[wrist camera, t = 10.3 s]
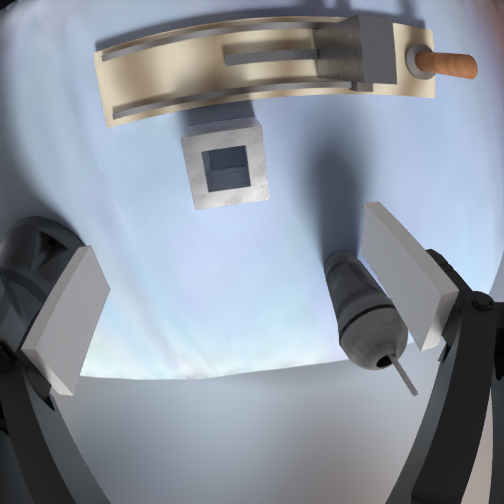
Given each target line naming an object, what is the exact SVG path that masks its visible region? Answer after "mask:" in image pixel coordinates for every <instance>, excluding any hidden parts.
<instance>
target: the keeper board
mask: <svg viewBox="0 0 504 504" xmlns="http://www.w3.org/2000/svg"><path fill="white" fill-rule="evenodd" d="M345 19H347V18H343V17H322V16H285V17H264V18H251V19H240V20H231V21H223V22H216V23H209V24H203V25H197V26H191V27H186V28H181V29H176V30H171V31H167V32H163V33H158V34H154V35H150V36H147V37H143V38H139V39H135V40H132V41H129V42H125V43H122V44H119V45H116V46H112V47H109V48H106V49H104V50H101V51H98V52H95V53H94V60H95V66H96V72H97V78H98V83H99V89H100V94H101V99H102V104H103V109H104V114H105V118H106V123H107V127H108V128H110V127H114V126H117V125H121V124H125V123H128V122H132V121H136V120H140V119H144V118H149V117H153V116H157V115H162V114H167V113H171V112H176V111H181V110H187V109H192V108H198V107H203V106H209V105H216V104H222V103H229V102H237V101H245V100H253V99H263V98H273V97H285V96H300V95H322V94H381V95H401V96H415V97H427V98H435V74H436V73H437V74H444V75H451V76H456V77H462V78H467V79H473V78H475V77H476V75H477V71H478V68H477V63H476V61H475V60H474V58H473V57H472V56H470V55H465V54H453V53H435V52H434V45H433V33H432V30H429V29H424V28H419V27H414V26H409V25H403V24H397V23H393V30H394V41H395V54H396V70H397V85H395V84H377V83H361V82H353V81H345V80H336V79H327V78H318V75H317V64H316V59H315V60H289V61H273V62H260V63H250V64H241V65H233V66H226V65H225V58H224V56H226V55H233V54H242V53H251V52H262V51H276V50H297V49H315V44H314V35H313V32H314V31H317V30H319V29H322V28H324V27H326V26H329V25H332V24H334V23H337V22H339V21H342V20H345Z"/></svg>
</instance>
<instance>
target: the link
mask: <svg viewBox="0 0 504 504" xmlns="http://www.w3.org/2000/svg"><path fill="white" fill-rule="evenodd" d="M181 142H182V148H183V153H184V158H185V163H186V168H187V173H188V178H189V183H190V188H191V193H192V197H193V202H194V207H195V210H199V209H205V208H212V207H219V206H225V205H232V204H239V203H247V202H254V201H261V200H269V190H268V180H267V171H266V161H265V152H264V142H263V133H262V126H261V124H260V123H259V121H258V120H257V118H256V117H255V116H252V117H244V118H236V119H229V120H222V121H215V122H209V123H203V124H197V125H192V126H189V127H188V128H187V130H186V131H185V133H184V134H183V136H182V137H181ZM243 145H244V149H245V156H246V164H247V166H241V167H234V168H227V169H220V170H213V171H211V166H210V160H209V154H208V151H209V150H215V149H222V148H228V147H235V146H243Z"/></svg>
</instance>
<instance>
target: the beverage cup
mask: <svg viewBox="0 0 504 504" xmlns="http://www.w3.org/2000/svg"><path fill="white" fill-rule="evenodd" d="M324 273H325V277H326V282H327V286H328V289H329V293H330V297H331V300H332V304H333V308H334V311H335V315H336V319H337V322H338V332H339V345H340V346H341V348H342V349H343V350H344V352H345V353H346V355H347V356H348V358H349V359H350V360H351V361H352V362H353V363H354V364H356V365H357V366H360V367H362V368H364V369H368V370H379V369H384V368H386V367H388V366H390V365H392V364H394V366H395V368H396V369H397V371H398V372H399V374H400V375H401V377H402V379H403V380H404V382H405V384H406V385H407V387H408V388H409V390H410V392H411V393H412V395H413V396H416V395H417V394H418V392H417V390H416V389H415V387H414V386H413V384H412V383H411V381H410V379H409V378H408V376H407V375H406V373H405V371H404V370H403V368H402V367H401V365H400V364H399V362H398V359H399V358H400V356H401V355H402V353H403V352H404V350H405V348H406V345H407V340H408V328H407V326H406V325H405V323H404V321H403V319H402V318H401V316H400V314H399V312H398V311H397V309H396V307H395V306H394V304H393V302H392V301H391V299H390V298H388V297H387V295H386V294H385V293H384V291H383V290H382V289H381V287H380V286H379V285H378V283H377V282H376V281H375V279H374V278H373V277H372V276H371V274H370V273H369V272H368V270H367V269H366V268H365V267H364V265H363V264H362V263H361V262H360V261H359V260H358V259H357V258H356V257H355V255H354V254H353V253H351V252H349V251H339V252H336V253H334V254H332V255H331V256H330V257H329V258H328V259H327V260H326V262H325V264H324Z"/></svg>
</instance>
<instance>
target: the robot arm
mask: <svg viewBox="0 0 504 504" xmlns="http://www.w3.org/2000/svg"><path fill="white" fill-rule="evenodd" d="M361 253H362V254H363V256H364V258H365V259H366V261H367V262H368V264H369V265H370V267H371V268H372V270H373V272H374V273H375V275H376V276H377V278H378V279H379V281H380V283H381V284H382V286H383V288H384V289H385V291H386V292H387V294H388V296H389V297H390V299H391V301H392V302H393V304H394V306H395V307H396V309H397V311H398V312H399V314H400V316H401V318H402V319H403V321H404V323H405V325H406V326H407V328H408V330H409V332H410V333H411V335H412V337H413V339H414V341H415V342H416V344H417V346H418V348H419V350H420V351H424V350H427V349H430V348H433V347H436V346H437V345H438V343H439V341H440V338H441V336H443V338H444V340H445V341H446V345H445V347H444V349H443V351H442V353H441V355H440V357H439V359H438V361H440V365H439V369H438V373H437V376H436V380H435V383H434V387H433V390H432V393H431V396H430V400H429V403H428V406H427V409H426V411H425V414H424V417H423V420H422V423H421V426H420V428H419V431H418V434H417V436H416V439H415V441H414V444H413V446H412V449H411V451H410V453H409V456H408V458H407V460H406V462H405V465H404V467H403V469H402V471H401V473H400V476H399V478H398V480H397V482H396V484H395V486H394V488H393V490H392V492H391V494H390V496H389V498H388V499H387V501H386V503H385V504H461V501H462V497H463V495H464V492H465V489H466V486H467V484H468V481H469V478H470V474H471V471H472V468H473V465H474V462H475V458H476V455H477V451H478V447H479V443H480V439H481V435H482V431H483V426H484V422H485V417H486V411H487V406H488V401H489V394H490V388H491V397H492V414H493V461H492V476H491V488H490V497H489V504H504V302H494V300H493V299H492V298H491V297H490V296H489V295H487V294H485V293H483V292H479V291H472V290H471V288H470V287H469V286H468V285H467V284H466V282H465V281H464V280H463V279H462V278H461V277H460V275H459V274H458V273H457V272H456V271H455V270H454V269H453V267H452V266H451V265H450V264H448V262H447V261H446V260H445V258H444V257H443V256H442V255H441V254H439V253H437V252H436V251H434V250H432V249H428V250H425V249H424V248H423V247H422V246H421V245H420V244H419V243H418V242H417V240H416V239H415V238H414V237H413V236H412V235H411V234H410V233H409V232H408V231H407V230H406V229H405V228H404V227H403V225H402V224H401V223H400V222H399V221H398V220H397V219H396V218H395V217H394V216H393V215H392V214H391V213H390V212H389V211H388V210H387V209H386V208H385V207H384V206H383V205H382V204H381V203H380V202H370V203H364V222H363V237H362V249H361ZM109 291H110V287H109V285H108V283H107V281H106V279H105V276H104V274H103V272H102V270H101V267H100V265H99V263H98V261H97V258H96V256H95V254H94V251H93V249H92V246H91V245H89V246H84V245H83V244H82V242H81V241H80V240H79V239H78V238H77V237H76V236H75V235H74V234H73V233H72V232H71V231H69V230H68V229H67V228H65V227H64V226H62V225H61V224H59V223H57V222H55V221H53V220H50V219H47V218H42V217H29V218H25V219H22V220H20V221H19V222H17V223H16V224H15V225H14V226H13V227H12V228H11V229H10V230H9V231H8V232H7V233H6V235H5V236H4V238H3V239H2V241H1V244H0V504H111V503H110V502H109V500H108V499H107V497H106V496H105V494H104V493H103V491H102V489H101V488H100V486H99V485H98V483H97V481H96V480H95V478H94V477H93V475H92V473H91V472H90V470H89V468H88V466H87V465H86V463H85V461H84V459H83V458H82V456H81V454H80V452H79V450H78V448H77V446H76V445H75V442H74V440H73V439H72V437H71V435H70V432H69V431H68V428H67V426H66V424H65V422H64V420H63V418H62V415H61V413H60V411H59V409H58V406H57V404H56V402H55V400H54V397H53V396H52V395H51V394H50V389H51V386H52V387H53V388H54V389H55V390H56V391H57V392H58V393H59V394H63V395H74V392H75V389H76V385H77V382H78V379H79V376H80V372H81V369H82V366H83V363H84V360H85V357H86V354H87V351H88V348H89V345H90V342H91V339H92V336H93V333H94V331H95V328H96V325H97V322H98V320H99V317H100V314H101V312H102V309H103V307H104V304H105V301H106V299H107V296H108V294H109ZM33 502H34V503H33Z"/></svg>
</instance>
